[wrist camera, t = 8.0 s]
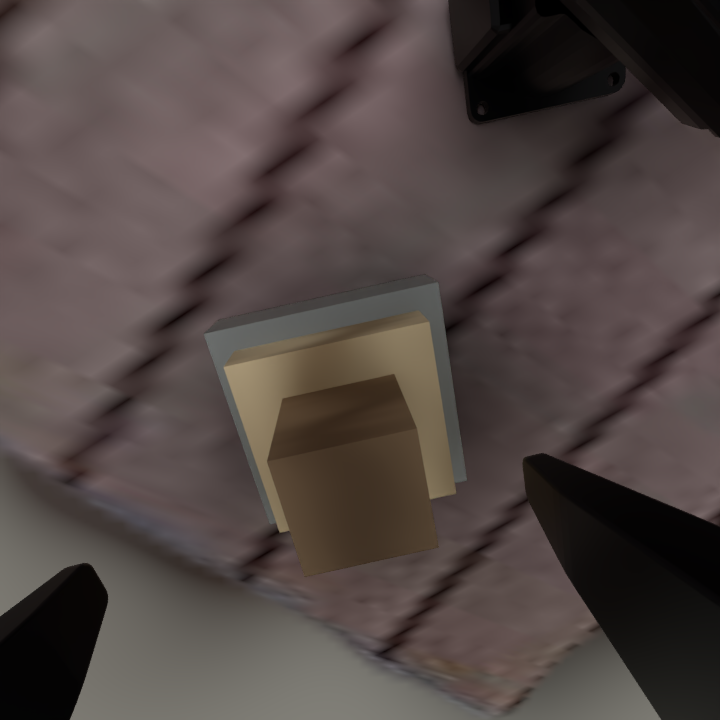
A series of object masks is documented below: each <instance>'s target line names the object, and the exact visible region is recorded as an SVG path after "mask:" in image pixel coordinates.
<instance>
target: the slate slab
mask: <svg viewBox="0 0 720 720" xmlns="http://www.w3.org/2000/svg"><path fill="white" fill-rule="evenodd" d="M418 310H419V311H420V312H421V313H422V314H423V315H424V316H425V318H426V319H427V320H428V321H429V323H430V329H431V335H432V342H433V348H434V355H435V361H436V367H437V374H438V380H439V386H440V393H441V399H442V406H443V412H444V418H445V425H446V431H447V437H448V444H449V450H450V457H451V463H452V469H453V476H454V482H455V483H458V482H462V481H467V477H466V470H465V463H464V456H463V449H462V443H461V436H460V429H459V422H458V415H457V408H456V401H455V394H454V387H453V380H452V374H451V367H450V360H449V353H448V346H447V339H446V332H445V325H444V318H443V311H442V304H441V298H440V291H439V284H438V282H437V281H436V280H434V279H432V278H431V277H429V276H427V275H426V274H424V275H419V276H415V277H410V278H405V279H401V280H396V281H392V282H387V283H383V284H378V285H374V286H369V287H365V288H360V289H356V290H351V291H347V292H342V293H338V294H333V295H329V296H324V297H320V298H315V299H311V300H306V301H302V302H297V303H293V304H288V305H284V306H279V307H275V308H270V309H265V310H261V311H256V312H252V313H247V314H243V315H238V316H234V317H229V318H225V319H220V320H218V321H217V322H216V323H215V324H214V325H213V326H212V327H210V328H209V329H208V330H207V331H206V332H205V333H204V336H205V339H206V342H207V345H208V348H209V351H210V354H211V356H212V359H213V362H214V365H215V368H216V371H217V374H218V377H219V379H220V382H221V385H222V388H223V391H224V394H225V397H226V400H227V403H228V405H229V408H230V411H231V414H232V417H233V420H234V423H235V426H236V428H237V431H238V434H239V437H240V440H241V443H242V446H243V449H244V451H245V454H246V457H247V460H248V463H249V466H250V469H251V472H252V475H253V477H254V480H255V483H256V486H257V489H258V492H259V495H260V498H261V500H262V503H263V506H264V509H265V512H266V515H267V518H268V521H269V524H273V523H276V520H275V517H274V514H273V511H272V508H271V506H270V503H269V500H268V497H267V494H266V491H265V488H264V485H263V482H262V479H261V476H260V473H259V470H258V467H257V464H256V461H255V458H254V456H253V453H252V450H251V447H250V444H249V441H248V438H247V435H246V432H245V429H244V426H243V423H242V420H241V417H240V414H239V411H238V408H237V406H236V403H235V400H234V397H233V394H232V391H231V388H230V385H229V382H228V379H227V376H226V373H225V370H224V366H225V364H226V363H227V361H228V360H229V358H230V357H231V355H232V354H233V352H234V351H237V350H242V349H246V348H251V347H255V346H260V345H264V344H269V343H273V342H278V341H282V340H287V339H291V338H296V337H300V336H305V335H309V334H314V333H318V332H323V331H327V330H332V329H336V328H341V327H345V326H350V325H354V324H359V323H363V322H368V321H373V320H377V319H382V318H386V317H391V316H395V315H400V314H404V313H409V312H413V311H418Z"/></svg>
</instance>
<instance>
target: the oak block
mask: <svg viewBox="0 0 720 720" xmlns="http://www.w3.org/2000/svg"><path fill="white" fill-rule="evenodd" d="M224 370H225V373H226V376H227V379H228V382H229V385H230V388H231V391H232V394H233V397H234V400H235V403H236V406H237V408H238V411H239V414H240V417H241V420H242V423H243V426H244V429H245V432H246V435H247V438H248V441H249V444H250V447H251V450H252V453H253V456H254V458H255V461H256V464H257V467H258V470H259V473H260V476H261V479H262V482H263V485H264V488H265V491H266V494H267V497H268V500H269V503H270V506H271V508H272V511H273V514H274V517H275V520H276V523H277V526H278V529H279V532H280V533H281V532H285V531H290V530H289V527H288V524H287V521H286V518H285V515H284V512H283V509H282V506H281V503H280V500H279V497H278V494H277V491H276V488H275V485H274V482H273V479H272V476H271V473H270V470H269V467H268V463H267V459H268V455H269V451H270V447H271V443H272V439H273V435H274V431H275V427H276V423H277V419H278V415H279V411H280V407H281V402H282V399H283V398H287V397H292V396H296V395H301V394H305V393H310V392H314V391H319V390H323V389H328V388H332V387H337V386H342V385H346V384H351V383H355V382H360V381H364V380H369V379H373V378H378V377H382V376H387V375H391V374H394V375H395V377H396V379H397V382H398V384H399V387H400V389H401V391H402V394H403V396H404V399H405V401H406V403H407V406H408V408H409V410H410V413H411V415H412V418H413V420H414V422H415V425H416V427H417V431H418V436H419V442H420V447H421V453H422V458H423V464H424V469H425V475H426V480H427V486H428V491H429V497H430V499H434V498H438V497H443V496H447V495H452V494H456V488H455V482H454V476H453V469H452V463H451V457H450V450H449V444H448V437H447V431H446V425H445V418H444V412H443V406H442V399H441V393H440V386H439V380H438V374H437V367H436V361H435V355H434V348H433V342H432V335H431V329H430V323H429V321H428V320H427V319H426V318H425V316H424V315H423V314H422V313H421V312H420V311H419V310H418V311H413V312H409V313H404V314H400V315H395V316H391V317H386V318H382V319H377V320H373V321H368V322H363V323H359V324H354V325H350V326H345V327H341V328H336V329H332V330H327V331H323V332H318V333H314V334H309V335H305V336H300V337H296V338H291V339H287V340H282V341H278V342H273V343H269V344H264V345H260V346H255V347H251V348H246V349H242V350H237V351H234V352H233V354H232V355H231V357H230V358H229V360H228V361H227V363H226V364H225V366H224Z"/></svg>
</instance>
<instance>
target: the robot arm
mask: <svg viewBox="0 0 720 720" xmlns="http://www.w3.org/2000/svg"><path fill="white" fill-rule="evenodd" d="M448 2H449V11H450V20H451V28H452V37H453V46H454V55H455V64H456V68H457V69H458V70H459V71H460V72H463V75H464V84H465V94H466V103H467V112H468V116H469V119H470V120H471V121H472V122H474V123H476V124H481V123H486V122H490V121H495V120H499V119H504V118H508V117H513V116H517V115H522V114H526V113H531V112H535V111H540V110H544V109H549V108H553V107H558V106H562V105H567V104H571V103H576V102H581V101H585V100H590V99H594V98H599V97H603V96H608V95H610V94H612V93H615V92H617V91H619V90H620V89H621V88H622V86H623V84H624V82H625V67H626V68H627V69H628V70H629V71H630V72H631V73H632V74H633V75H634V76H635V77H636V78H637V79H638V80H639V81H640V82H641V83H642V84H643V85H644V86H645V87H646V88H647V89H648V90H649V91H650V92H651V93H652V94H653V95H654V96H655V97H656V98H657V99H658V100H659V101H660V102H661V103H662V104H663V105H664V106H665V107H666V108H667V109H668V110H669V111H670V112H671V113H672V114H673V115H674V116H675V117H676V118H677V119H678V120H679V121H680V122H681V123H682V124H685V125H689V126H692V127H695V128H699V129H709V131H710V132H711V133H712V134H713V135H714V136H715V137H719V138H720V0H448ZM609 75H611V76H612V77H613V85H612V86H610V85H609V84H608V81H607V80H608V76H609ZM478 103H479V104H483V105H484V107H485V113H484V115H480V114H478V113H477V110H476V108H477V105H478ZM523 473H524V481H525V490H526V495H527V498H528V501H529V503H530V505H531V507H532V509H533V511H534V513H535V515H536V517H537V519H538V521H539V523H540V524H541V526H542V528H543V530H544V532H545V534H546V536H547V538H548V540H549V542H550V544H551V546H552V548H553V550H554V552H555V554H556V556H557V558H558V560H559V561H560V563H561V565H562V567H563V569H564V571H565V573H566V574H567V576H568V578H569V579H570V581H571V582H572V584H573V586H574V587H575V589H576V590H577V592H578V593H579V595H580V596H581V598H582V599H583V601H584V602H585V604H586V605H587V607H588V609H589V610H590V612H591V613H592V615H593V616H594V618H595V619H596V621H597V622H598V624H599V625H600V627H601V628H602V630H603V631H604V633H605V634H606V636H607V638H608V639H609V641H610V642H611V643H612V645H613V647H614V648H615V650H616V651H617V653H618V654H619V656H620V657H621V659H622V660H623V662H624V663H625V665H626V667H627V668H628V669H629V671H630V673H631V674H632V676H633V677H634V679H635V680H636V682H637V683H638V685H639V686H640V688H641V689H642V691H643V692H644V694H645V695H646V697H647V699H648V700H649V701H650V703H651V705H652V706H653V708H654V709H655V711H656V712H657V714H658V715H659V717H660V718H661V720H720V526H718V525H716V524H714V523H711V522H709V521H706V520H704V519H701V518H699V517H697V516H694V515H692V514H689V513H687V512H685V511H682V510H680V509H677V508H675V507H673V506H670V505H668V504H665V503H663V502H661V501H658V500H656V499H653V498H651V497H649V496H646V495H644V494H641V493H639V492H636V491H634V490H632V489H629V488H627V487H624V486H622V485H620V484H617V483H615V482H612V481H610V480H608V479H605V478H603V477H600V476H598V475H596V474H593V473H591V472H588V471H586V470H583V469H581V468H579V467H576V466H574V465H571V464H569V463H567V462H564V461H562V460H559V459H557V458H555V457H552V456H550V455H547V454H544V453H540V454H536V455H532V456H527V457H525V458H524V459H523ZM107 603H108V594H107V591H106V589H105V587H104V585H103V584H102V582H101V580H100V578H99V577H98V575H97V573H96V572H95V570H94V568H93V567H92V566H91V565H90V564H88V563H82V564H78V565H74V566H70V567H67V568H64V569H63V570H62V571H60V572H59V573H58V574H56V575H55V576H54V577H52V578H51V579H50V580H48V581H47V582H46V583H44V584H43V585H42V586H40V587H39V588H38V589H36V590H35V591H34V592H32V593H31V594H30V595H28V596H27V597H26V598H24V599H23V600H22V601H20V602H19V603H18V604H16V605H15V606H14V607H12V608H11V609H10V610H8V611H7V612H6V613H4V614H3V615H2V616H0V720H70V718H71V716H72V713H73V711H74V708H75V705H76V703H77V700H78V697H79V695H80V692H81V689H82V686H83V683H84V680H85V677H86V674H87V670H88V668H89V664H90V661H91V658H92V654H93V651H94V648H95V644H96V641H97V637H98V634H99V631H100V628H101V624H102V621H103V618H104V614H105V611H106V608H107Z"/></svg>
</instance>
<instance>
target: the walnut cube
mask: <svg viewBox="0 0 720 720" xmlns="http://www.w3.org/2000/svg"><path fill="white" fill-rule="evenodd" d="M267 463H268V467H269V470H270V473H271V476H272V479H273V482H274V485H275V488H276V491H277V494H278V497H279V500H280V503H281V506H282V509H283V512H284V515H285V518H286V521H287V524H288V527H289V530H290V533H291V536H292V540H293V543H294V546H295V549H296V552H297V555H298V558H299V561H300V564H301V567H302V570H303V573H304V576H305V577H307V576H312V575H316V574H321V573H325V572H330V571H334V570H339V569H343V568H348V567H352V566H357V565H361V564H366V563H370V562H375V561H379V560H384V559H388V558H393V557H397V556H402V555H407V554H411V553H416V552H420V551H425V550H429V549H434V548H438V547H439V546H438V541H437V535H436V530H435V524H434V519H433V513H432V508H431V502H430V497H429V491H428V486H427V480H426V475H425V469H424V464H423V458H422V453H421V447H420V442H419V436H418V431H417V427H416V425H415V422H414V420H413V418H412V415H411V413H410V410H409V408H408V406H407V403H406V401H405V399H404V396H403V394H402V391H401V389H400V387H399V384H398V382H397V379H396V377H395V375H394V374H391V375H387V376H382V377H378V378H373V379H369V380H364V381H360V382H355V383H351V384H346V385H342V386H337V387H332V388H328V389H323V390H319V391H314V392H310V393H305V394H301V395H296V396H292V397H287V398H283V399H282V402H281V407H280V411H279V415H278V419H277V423H276V427H275V431H274V435H273V439H272V443H271V447H270V451H269V455H268V459H267Z"/></svg>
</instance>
